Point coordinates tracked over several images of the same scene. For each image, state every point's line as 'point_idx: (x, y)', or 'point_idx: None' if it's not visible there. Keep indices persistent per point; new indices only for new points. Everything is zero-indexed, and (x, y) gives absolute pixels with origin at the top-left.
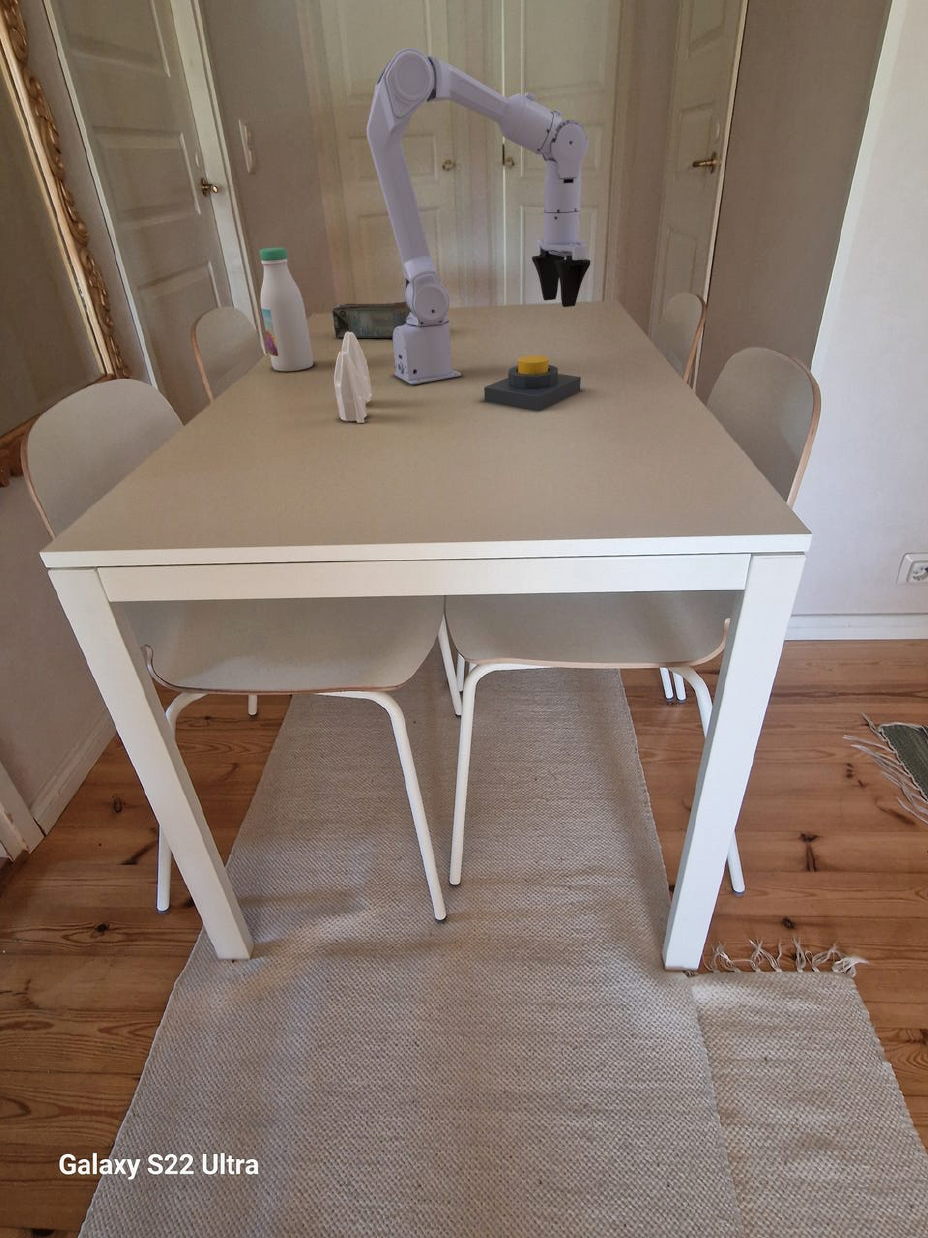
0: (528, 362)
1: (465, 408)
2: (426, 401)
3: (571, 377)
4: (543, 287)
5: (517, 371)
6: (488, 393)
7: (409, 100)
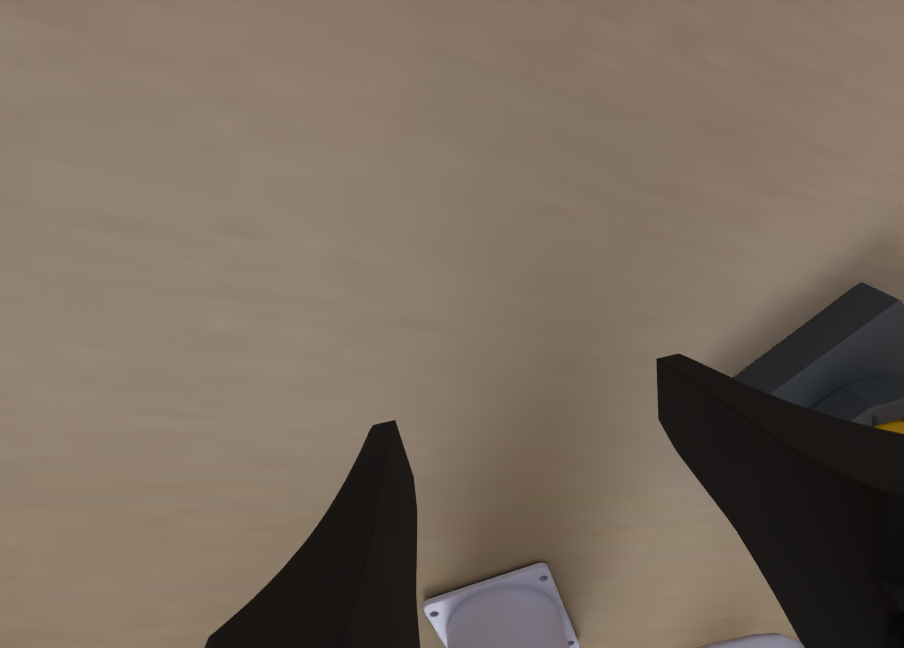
0: None
1: None
2: (717, 614)
3: (886, 329)
4: (415, 546)
5: None
6: None
7: None
